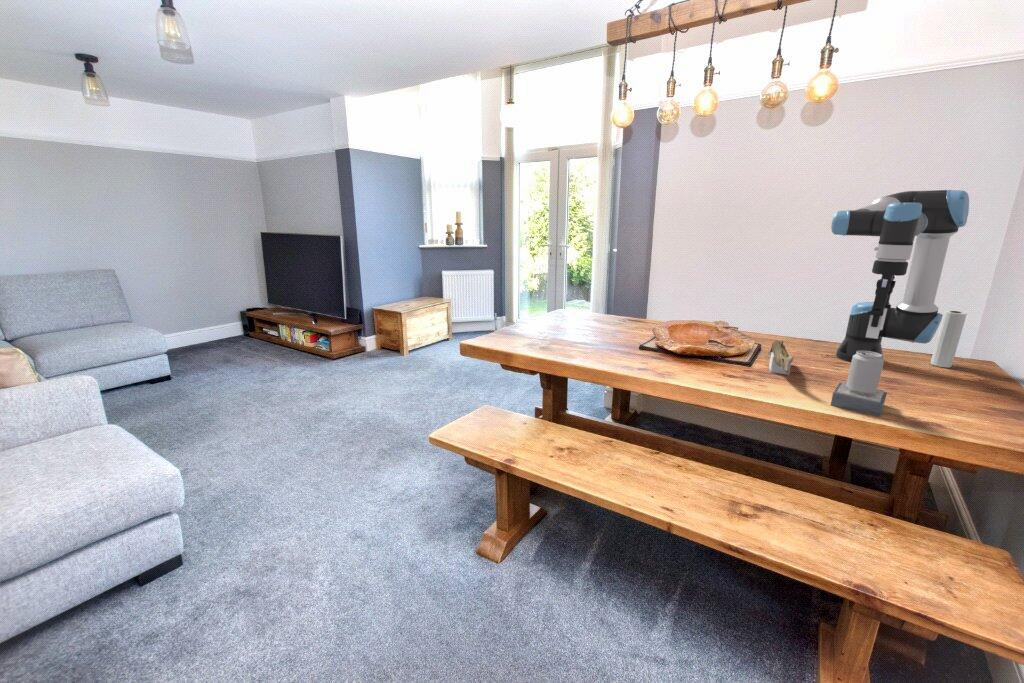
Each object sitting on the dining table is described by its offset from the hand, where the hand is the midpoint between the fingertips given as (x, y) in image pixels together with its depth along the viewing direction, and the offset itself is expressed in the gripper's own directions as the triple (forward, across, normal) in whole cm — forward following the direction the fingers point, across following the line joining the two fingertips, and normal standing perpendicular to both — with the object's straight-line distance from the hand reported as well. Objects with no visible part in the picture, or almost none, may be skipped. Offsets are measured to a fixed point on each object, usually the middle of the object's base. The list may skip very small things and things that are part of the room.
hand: (874, 333), depth 132 cm
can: (+18, 0, 0) cm, 18 cm away
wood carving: (+23, -16, -25) cm, 37 cm away
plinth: (+23, 0, 0) cm, 23 cm away
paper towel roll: (+23, -70, +19) cm, 76 cm away
